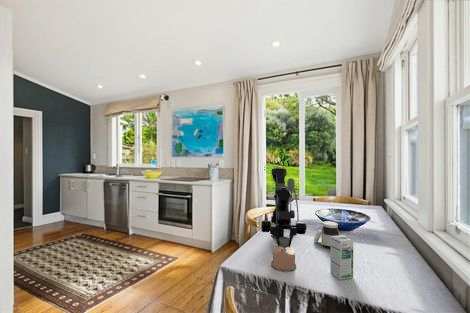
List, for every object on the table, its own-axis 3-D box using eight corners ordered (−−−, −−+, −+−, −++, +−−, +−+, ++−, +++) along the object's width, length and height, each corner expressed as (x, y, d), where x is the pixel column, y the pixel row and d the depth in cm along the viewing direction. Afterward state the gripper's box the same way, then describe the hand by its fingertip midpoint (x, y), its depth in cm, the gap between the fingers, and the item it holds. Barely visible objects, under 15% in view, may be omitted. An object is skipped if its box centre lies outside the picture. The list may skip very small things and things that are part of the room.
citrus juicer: (281, 220, 160) (282, 177, 159) (294, 219, 163) (294, 177, 162) (290, 225, 149) (290, 179, 149) (303, 224, 152) (304, 178, 152)
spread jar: (340, 251, 109) (341, 226, 109) (315, 248, 112) (316, 225, 111) (334, 241, 121) (335, 219, 121) (312, 240, 123) (312, 218, 123)
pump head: (278, 255, 96) (278, 236, 96) (288, 255, 96) (288, 236, 96) (279, 262, 90) (279, 241, 90) (289, 262, 89) (290, 242, 89)
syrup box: (340, 280, 83) (341, 240, 83) (329, 272, 89) (330, 235, 89) (353, 278, 85) (354, 239, 85) (341, 270, 91) (342, 234, 90)
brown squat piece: (270, 259, 100) (271, 244, 99) (294, 260, 98) (294, 246, 98) (271, 270, 90) (271, 254, 90) (297, 272, 88) (298, 256, 88)
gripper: (261, 201, 99) (261, 236, 88) (306, 203, 96) (311, 239, 86) (261, 215, 107) (260, 248, 96) (302, 217, 104) (306, 251, 93)
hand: (284, 246), depth 93 cm, fingers closed on pump head, 4 cm apart
